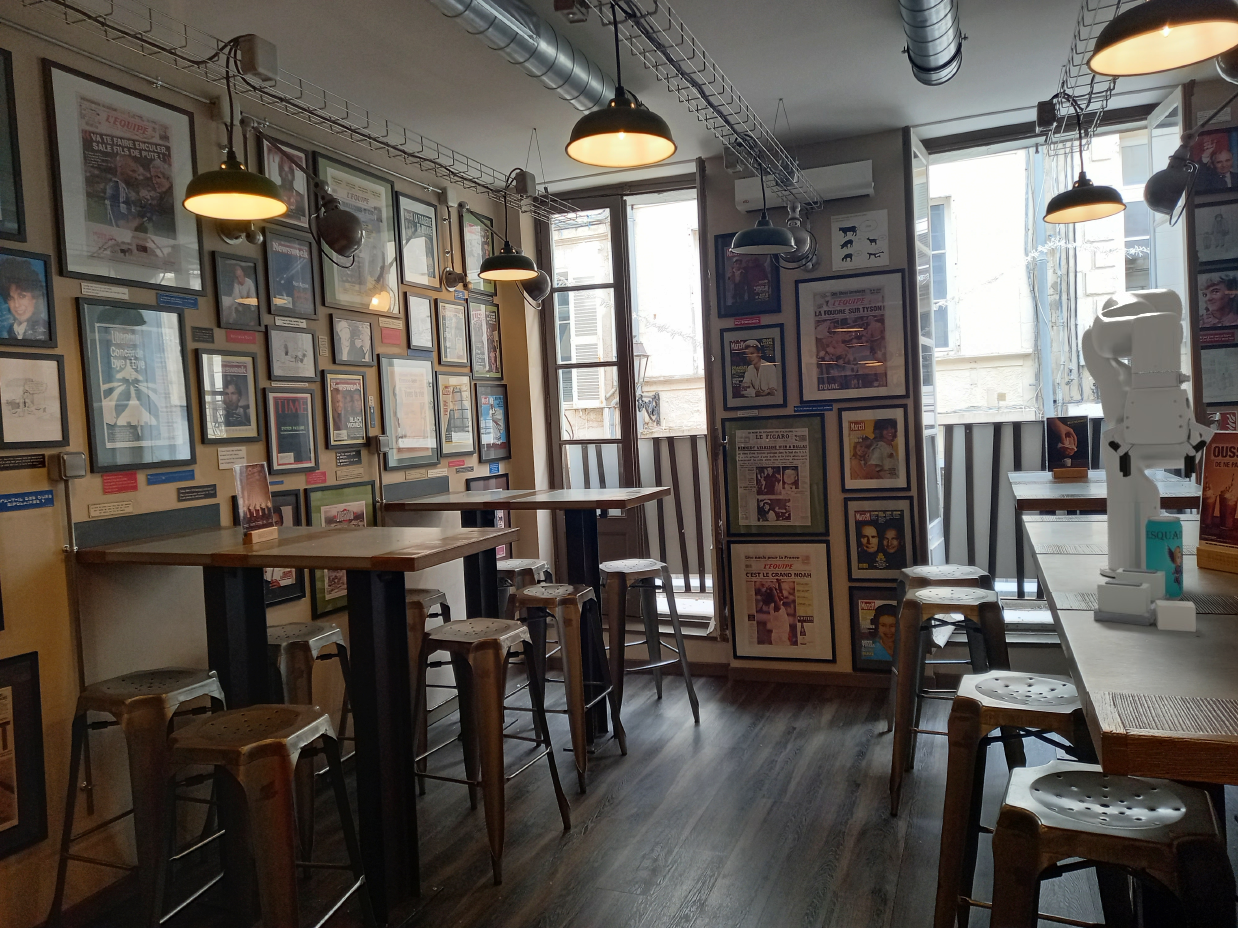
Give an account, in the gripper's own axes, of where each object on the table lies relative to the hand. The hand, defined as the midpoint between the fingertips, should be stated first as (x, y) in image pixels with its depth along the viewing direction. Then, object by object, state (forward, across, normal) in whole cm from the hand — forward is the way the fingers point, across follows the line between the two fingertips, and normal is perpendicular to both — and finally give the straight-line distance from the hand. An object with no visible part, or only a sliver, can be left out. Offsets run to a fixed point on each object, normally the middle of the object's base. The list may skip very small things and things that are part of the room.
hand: (1156, 477), depth 156 cm
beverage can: (+23, -1, -1) cm, 23 cm away
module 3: (+22, -6, +21) cm, 31 cm away
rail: (+22, +1, +13) cm, 26 cm away
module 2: (+21, +2, +7) cm, 22 cm away
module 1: (+21, +1, +20) cm, 28 cm away
